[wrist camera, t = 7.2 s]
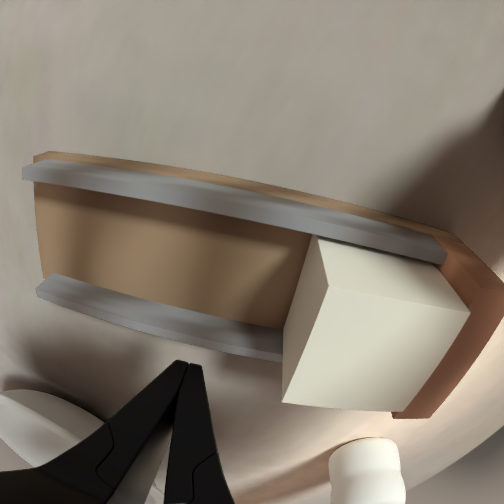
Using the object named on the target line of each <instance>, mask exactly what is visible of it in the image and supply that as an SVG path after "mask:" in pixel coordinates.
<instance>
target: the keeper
mask: <svg viewBox="0 0 504 504" xmlns="http://www.w3.org/2000/svg"><path fill="white" fill-rule="evenodd" d="M470 313H471V312H470V311H469V309H468V308H467V307H466V305H465V304H464V303H463V301H462V300H461V298H460V297H459V296H458V294H457V293H456V292H455V290H454V289H453V288H452V286H451V285H450V284H449V283H448V281H447V280H446V279H445V277H444V276H443V275H442V274H441V272H440V271H439V270H438V269H437V267H436V266H435V265H434V264H433V263H432V262H428V261H424V260H420V259H416V258H412V257H408V256H404V255H400V254H396V253H392V252H388V251H384V250H380V249H375V248H371V247H367V246H363V245H359V244H354V243H350V242H346V241H342V240H337V239H333V238H328V237H324V236H320V235H315V234H312V238H311V241H310V245H309V248H308V251H307V255H306V258H305V262H304V265H303V268H302V272H301V275H300V278H299V281H298V285H297V288H296V291H295V294H294V297H293V301H292V304H291V307H290V310H289V313H288V316H287V319H286V322H285V325H284V329H283V372H282V402H284V403H291V404H299V405H307V406H316V407H326V408H336V409H349V410H364V411H388V412H403V411H404V410H405V408H406V407H407V406H408V405H409V403H410V402H411V401H412V400H413V398H414V397H415V396H416V395H417V393H418V392H419V391H420V389H421V388H422V387H423V385H424V384H425V383H426V381H427V380H428V379H429V377H430V376H431V374H432V373H433V372H434V370H435V369H436V367H437V366H438V364H439V363H440V361H441V360H442V359H443V357H444V356H445V354H446V353H447V351H448V349H449V348H450V346H451V345H452V343H453V342H454V340H455V338H456V337H457V335H458V334H459V332H460V330H461V329H462V327H463V325H464V324H465V322H466V320H467V318H468V317H469V315H470Z"/></svg>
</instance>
